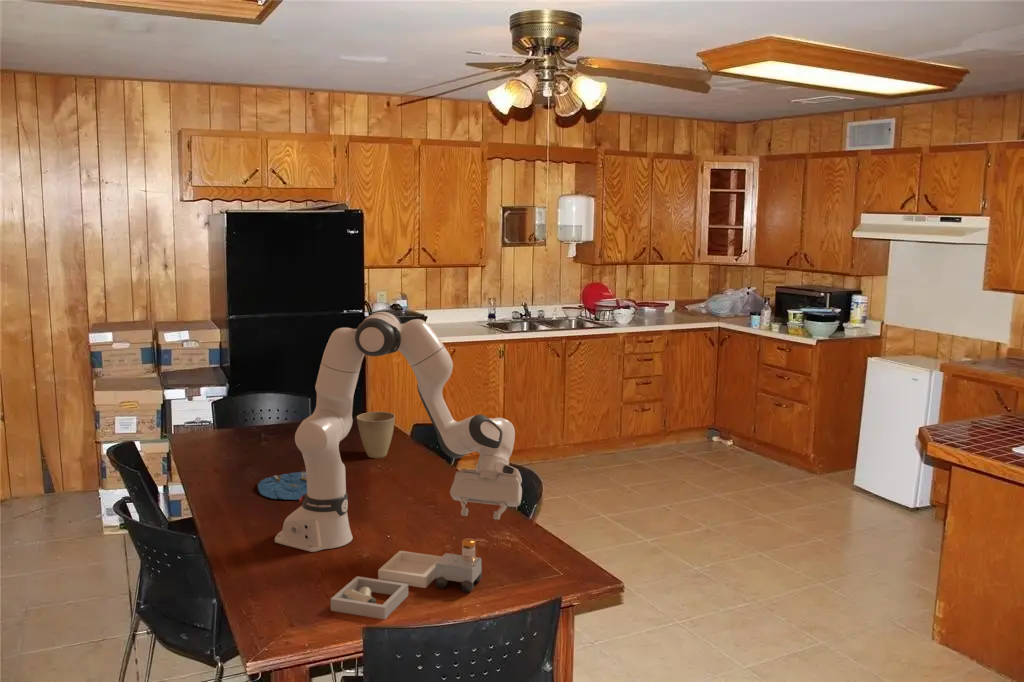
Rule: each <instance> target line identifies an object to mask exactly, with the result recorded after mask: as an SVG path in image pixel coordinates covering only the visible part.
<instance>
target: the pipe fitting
mask: <svg viewBox="0 0 1024 682" xmlns="http://www.w3.org/2000/svg"><path fill="white" fill-rule="evenodd" d="M372 593H373V592H371V589H370V588H368V587H362V588H360V590H358V591H356V590H353V589H351V588H348V589H347V590H346V591H345V593H344V595H343V598H344V599H350V600H356V601H362V602H369V603H375V604H377V600H376V598H375V597H373V596H372Z"/></svg>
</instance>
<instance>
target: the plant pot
mask: <svg viewBox="0 0 1024 682" xmlns="http://www.w3.org/2000/svg"><path fill="white" fill-rule="evenodd" d="M395 420H396V414H394V413H391V412H387V411H369V412H365V413H360V414H358V415H356V423H357V426H358V427H357V428H358V431H359V435H360V440H361V443H362V445H363V449H364V450H365V452H366V455H367V457H369V458H371V459H379V458H380V459H382V458H384V457H386V456H387V455H388V451H389V448H390V445H391V442H392V438H393V434H394V429H395Z"/></svg>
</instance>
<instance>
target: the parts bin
mask: <svg viewBox="0 0 1024 682" xmlns="http://www.w3.org/2000/svg"><path fill="white" fill-rule="evenodd" d="M362 587H368V588H370V589H371V592H372V593H375V594H383V595H390V596H389V598H387V599H386V600H385V601H384V603H383V604H380V603H376V604H375V603H369V602H362V601H356V600H350V599H344V598H343V595H344V593H345V591H346V590H347V589H348V588H351V589H353V590H356V591H359V590H360V588H362ZM408 596H409V585H408V584H405V583H398V582H392V581H385V580H378V578H370V577H365V576H356V577H354V578H352V580H351V581H350V582H348V583H347V584H346V585H345V586H344V587H343V588H341V589H340V590H339V591H338V592H337V593H335V595H333V596H332V597H331V598H330V611H331V612H335V613H336V612H337V613H344V614H349V615H355V616H360V617H362V616H363V617H367V618H373V619H379V620H386V619H387V618H388V617H389V616H390V615H391V614H392V612H394V611H395V610H396V609H397V608H398V607H399V606H400V604H401V603H403V602H404V600H405V599H406V598H407V597H408Z"/></svg>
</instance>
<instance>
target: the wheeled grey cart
mask: <svg viewBox="0 0 1024 682" xmlns="http://www.w3.org/2000/svg"><path fill="white" fill-rule="evenodd" d="M441 556H442V557H441V558H440V559H439V560H438V561H437V562H436V578H435V579H434V580H435V581H434V584H435V586H436V588H438V589H440V590H442V589H445V588H446V587H447V586H448V585H449V581H452V582H459V583H460V589H461V591H462V592H464V593H467V594H469V593H470V592H471V591H472V590H473V589H474V586H475V584H474V583H476V584H477V583H478V582H480V580H481V579H482V578H483V577H482V576H483V574H482V571H483V565H482V557H479V556H478V557H477V556H475V557H471V556H464V555H462V554H455V553H450V552H449V553H448V552H445V553H444V554H443V555H441Z"/></svg>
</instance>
